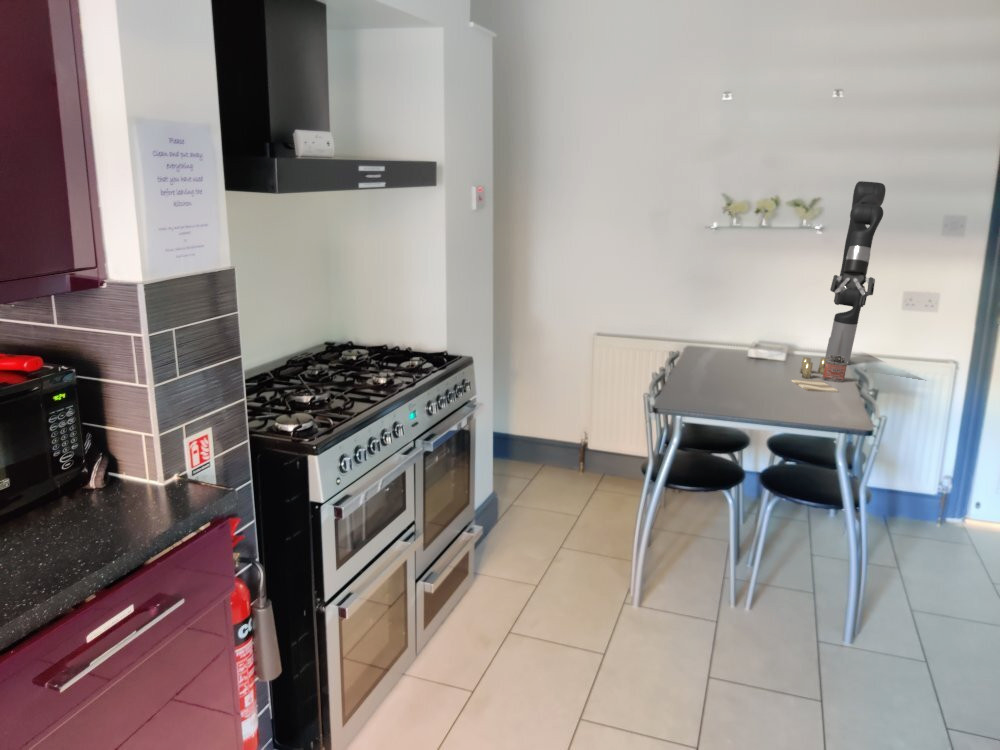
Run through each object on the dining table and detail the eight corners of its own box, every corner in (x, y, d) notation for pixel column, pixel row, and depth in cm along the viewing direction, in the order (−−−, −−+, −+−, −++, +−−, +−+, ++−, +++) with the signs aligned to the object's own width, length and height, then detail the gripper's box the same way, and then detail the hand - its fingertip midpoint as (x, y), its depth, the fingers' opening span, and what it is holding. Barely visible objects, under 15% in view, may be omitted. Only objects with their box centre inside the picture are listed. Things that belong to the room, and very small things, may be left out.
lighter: (842, 380, 313) (847, 355, 310) (844, 383, 310) (850, 357, 307) (820, 378, 313) (826, 352, 311) (823, 380, 310) (828, 355, 308)
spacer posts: (790, 370, 321) (793, 355, 319) (823, 372, 323) (826, 357, 321) (804, 378, 310) (807, 363, 309) (838, 380, 312) (841, 365, 311)
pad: (791, 381, 305) (791, 379, 305) (821, 382, 307) (821, 381, 306) (807, 390, 293) (807, 389, 293) (838, 392, 295) (838, 390, 295)
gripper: (882, 263, 287) (873, 309, 288) (841, 261, 297) (833, 305, 298) (874, 259, 282) (865, 305, 282) (833, 257, 292) (824, 302, 292)
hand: (848, 305), depth 290 cm, fingers open, 8 cm apart
